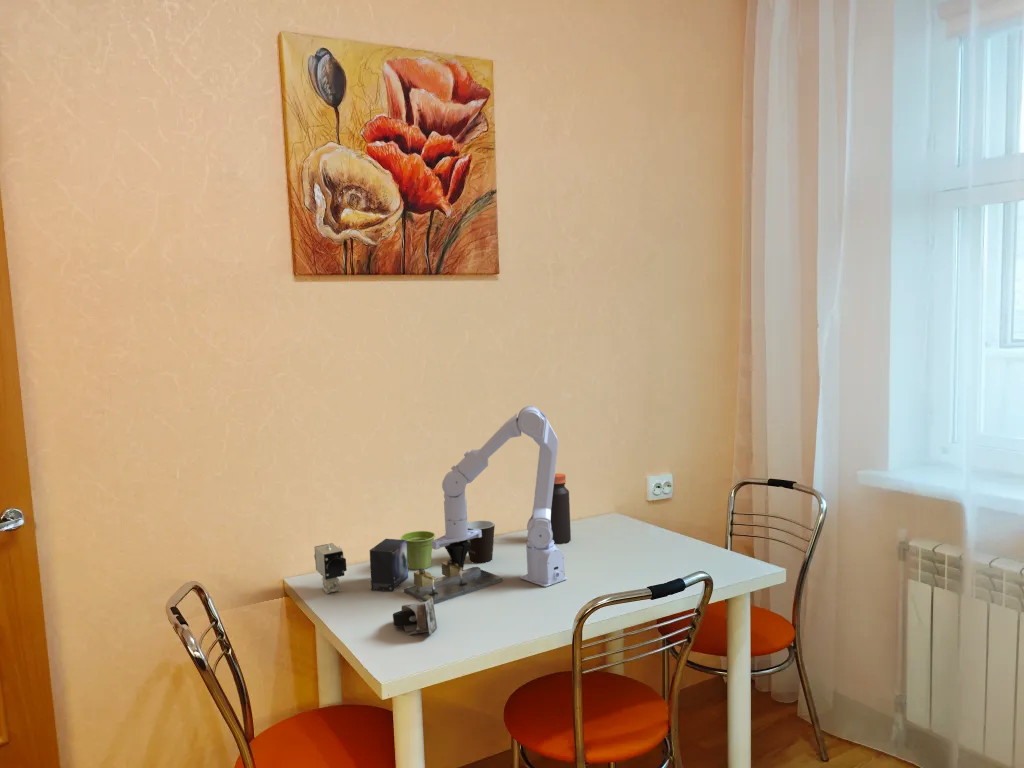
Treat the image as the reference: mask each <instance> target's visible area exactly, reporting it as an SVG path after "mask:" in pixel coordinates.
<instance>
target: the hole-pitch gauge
mask: <svg viewBox="0 0 1024 768" xmlns="http://www.w3.org/2000/svg"><path fill="white" fill-rule="evenodd" d="M431 573H432V572H429V571H426V569H418V571H417V570H416V571H415V572H413V584H414V585H411V586H409V587H406V588H404V589H403V593H404V594H406V595H408V596H410V597H413V598H415V599H417V600H419V601H421V602H426V601H428V600H429V599H431V598H433V604H434V605H437V604H439V603H441V602H445V601H448V600H451V599H454V598H456V597H457V598H458V597H460V596H462V595H466V594H469V593H471V592H475V591H478V590H480V589H484V588H486V587H490V586H492V585H495V584H499V583H501V582H504V580H503V579H504V577H502V576H499V575H498V574H495V573H491V572H489V571H487V570H483V569H481V567H479V566H472V567H469V568H467V569H466V568H465V569H463V571H462V583H460V573H459V575H458V576H455V577H451V578H450V577H447V576H445V575H442V576H441V577H437V578H436V577H435V576H433V575H432V574H431Z"/></svg>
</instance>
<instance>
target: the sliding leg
mask: <svg viewBox="0 0 1024 768" xmlns="http://www.w3.org/2000/svg"><path fill="white" fill-rule="evenodd" d="M458 570H459V571H458ZM462 570H464V567H460V566H458V563H455V562H452V560H451V558H450V559H447V560H446V561H444V562H441V574H442V576H447V577H450V578H451V577H455V576H458V575H459V573H460V583H462Z"/></svg>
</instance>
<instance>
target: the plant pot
mask: <svg viewBox="0 0 1024 768" xmlns="http://www.w3.org/2000/svg"><path fill="white" fill-rule="evenodd" d="M435 538H436V533H435V532H433V531H428V530H415V531H410V532H409V531H408V532H406V533H404V534H402V535H401V536H400V540H407V561H408V569H410V570H414V569H415V571H417V570H418V571H419V569H425V570H426V569H428V568H430V567H431V564H432V556H433V555H432V553H433V548H432V543H431V541H432V540H435Z"/></svg>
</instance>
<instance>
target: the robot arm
mask: <svg viewBox="0 0 1024 768" xmlns="http://www.w3.org/2000/svg"><path fill="white" fill-rule="evenodd" d="M522 433H523V434H525V435H526V436H528V437H530V438H532V439H533V441H534V442H535V443H536V444H537V445H538V446H539V452H538V459H537V460H538V461H537V471H536V479H535V489H534V497H533V498H534V500H533V505H532V511H531V512H532V514H531V516H530V518H529V519H528V521H527V524H526V525H527V526H526V527H527V541H526V542H525V544H526V545H525V547H526V567H527V568H526V569H527V574H523V575H521V576H520V577H519V578H520V579H521V580H524V581H527V582H530V583H533V584H535V585H537V586H542V587H545V588H546V587H549V586H551V585H555V584H557V583H560V582H563V581H566V580H568V577H567V576H565V574H566V573H565V556H564V553H563V551H562V550H561V549H559V548H558V547H557V546H556V545H555V544H554V540H552V538H553V533H552V530H551V522H550V521H551V505H552V496H553V487H554V478H555V474H556V467H557V459H558V458H557V457H558V449H559V438H558V437H557V434H556V433H555V431H554V429H553V427H552V426H551V423H550V422H549V420H548V418H547V416H546V414H545V413H543V412H542V411H541V410H540V409H539V408H538V407H537V406H533V405H526V406H525V407H523V408H522V409H520V411H518V413H515V414H514V415H513V416H511V418H509V419H508V420H507V421H505V422H504V423H503V425H502V426H500V427H499V429H498V430H497V431H496V432H495V433H494V434H492V436H491V437H490V438H489V439H488V440H487V441H486V442H485V444H483V446H481V448H480V449H471V450H470V451H468V450H467V451H466V452H465V453H464V455H463V456H464V457H463V458H462V459H461V460H460V461H459V462H458V463H456V465H453V466H451V467H450V469H451V471H448V472H447V473H446V474H445V476H444V477H443V480H442V483H441V489H442V490H443V498H444V501H443V507H444V508H443V509H444V512H443V513H444V524H445V525H444V528H445V532H444V535H442V536H440V537H438V538H434V540H432V541H431V543H432V550H435V551H436V550H440V549H441V548H443V547H444V549H445V550H446V552H447V553H448V555H449V557H450V559H451V560H452V562H455V563H458V566H460V567H463V568H464V565H465V562H466V557H467V555H468V550H469V548H470V547H471V543H470V542H467V540H469V539H473V538H477V537H478V538H480V537H482V531H481V530H480V529H473V530H468V507H467V499H466V487H467V485H468V484H471V483H472V482H473V481H474V480H475V479H476V478H477V477H478V476H479V475H480V474H481V473H483V471H484V470H486V468H488V467H489V458H490V457H491V456H493V455H494V454H495V453H496V452H497V451H498V450H499V449H500V448H502V447H503V446H504V445H505V444H506V443H507V442H508V440H511V438H517V437H522ZM463 570H464V569H463ZM463 570H462V571H463ZM458 571H459V570H458Z"/></svg>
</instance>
